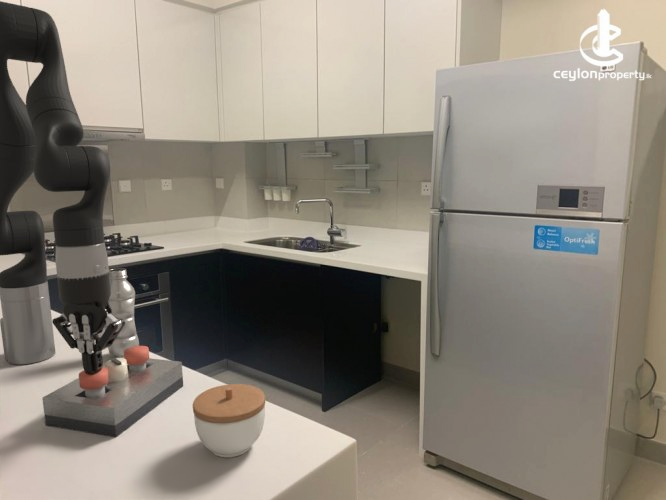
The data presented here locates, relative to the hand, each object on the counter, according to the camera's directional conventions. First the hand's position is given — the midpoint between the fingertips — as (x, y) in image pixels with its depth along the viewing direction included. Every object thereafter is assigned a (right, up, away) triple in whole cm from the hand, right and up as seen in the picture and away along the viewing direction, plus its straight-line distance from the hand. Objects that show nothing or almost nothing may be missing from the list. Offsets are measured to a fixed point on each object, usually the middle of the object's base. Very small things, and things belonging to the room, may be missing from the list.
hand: (93, 372), depth 82 cm
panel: (+2, -7, +7) cm, 10 cm away
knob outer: (0, -6, +1) cm, 6 cm away
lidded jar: (+25, -10, -7) cm, 27 cm away
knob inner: (+3, -4, +12) cm, 13 cm away
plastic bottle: (-7, -4, +30) cm, 31 cm away
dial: (+1, -2, +6) cm, 6 cm away
